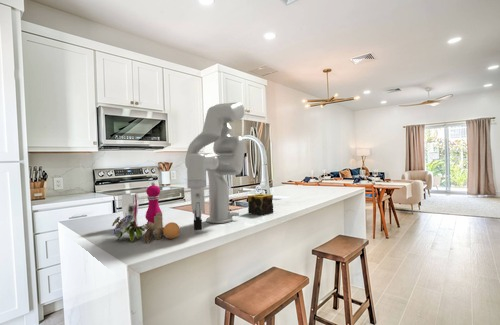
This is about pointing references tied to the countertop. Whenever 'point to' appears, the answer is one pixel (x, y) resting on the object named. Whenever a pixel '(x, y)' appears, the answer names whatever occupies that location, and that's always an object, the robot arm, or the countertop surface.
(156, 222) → the back pin left
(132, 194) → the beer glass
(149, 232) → the wall
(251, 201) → the dark textured cube
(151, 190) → the pepper mill
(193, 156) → the robot arm
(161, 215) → the back pin right
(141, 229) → the passion flower
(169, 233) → the ball
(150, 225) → the front pin
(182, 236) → the countertop surface
